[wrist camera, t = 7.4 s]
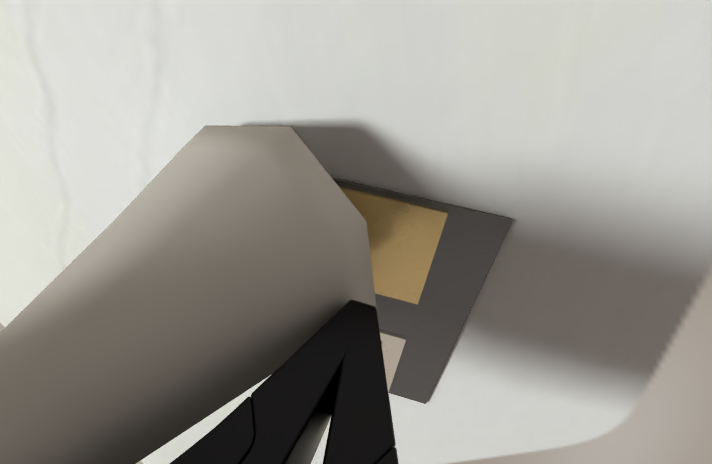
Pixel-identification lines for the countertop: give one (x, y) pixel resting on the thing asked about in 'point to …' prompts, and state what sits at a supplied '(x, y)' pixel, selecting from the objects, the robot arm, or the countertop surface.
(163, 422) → the flask
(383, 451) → the robot arm
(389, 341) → the floppy disk
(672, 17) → the countertop surface
